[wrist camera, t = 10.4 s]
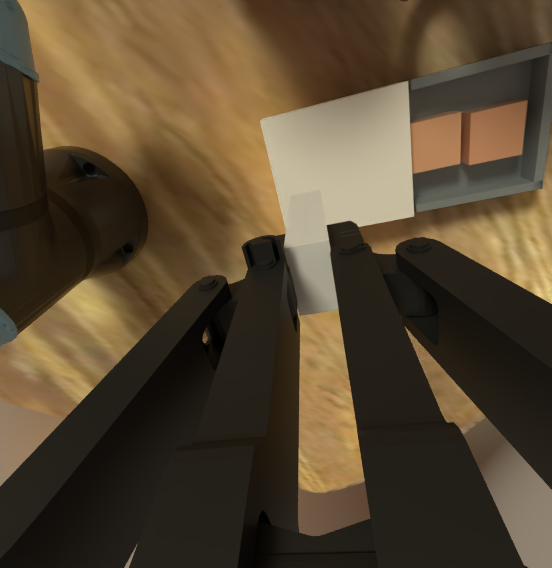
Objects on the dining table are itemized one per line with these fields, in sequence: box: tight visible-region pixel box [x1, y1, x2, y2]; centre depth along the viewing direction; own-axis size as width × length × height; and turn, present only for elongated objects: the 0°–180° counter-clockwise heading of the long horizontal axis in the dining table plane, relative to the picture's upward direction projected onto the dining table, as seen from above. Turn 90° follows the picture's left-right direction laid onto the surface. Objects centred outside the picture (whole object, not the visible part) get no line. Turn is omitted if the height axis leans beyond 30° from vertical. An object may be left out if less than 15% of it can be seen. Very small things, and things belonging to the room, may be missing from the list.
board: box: [260, 81, 414, 228], centre depth 34 cm, size 13×12×4 cm
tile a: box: [410, 111, 461, 174], centre depth 32 cm, size 4×4×2 cm
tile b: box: [460, 100, 528, 165], centre depth 31 cm, size 4×4×2 cm
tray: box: [403, 42, 552, 212], centre depth 32 cm, size 12×12×3 cm
